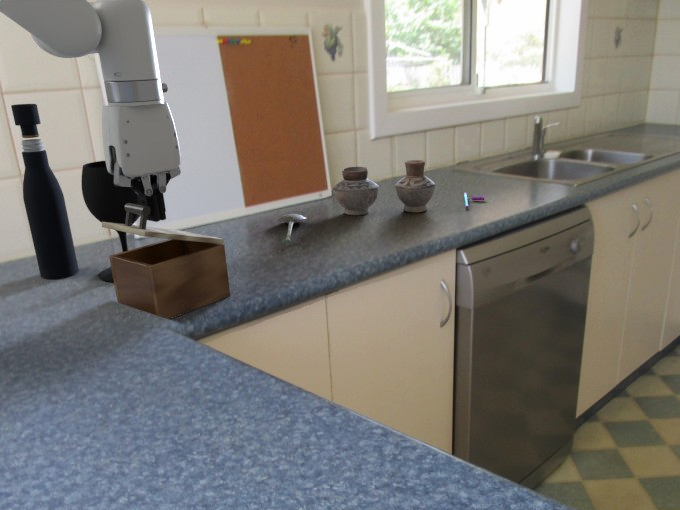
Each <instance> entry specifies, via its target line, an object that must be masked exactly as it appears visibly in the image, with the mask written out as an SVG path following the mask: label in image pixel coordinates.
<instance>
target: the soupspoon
mask: <svg viewBox="0 0 680 510" xmlns="http://www.w3.org/2000/svg"><path fill="white" fill-rule="evenodd" d="M304 220H307V217H305V216H304V215H302V214H299V213H287V214H283V215H282V216H280V217H279V218H278V219H277V221H279V222H284V223H286V224H288V226H287V234H286V236H285V239H283V240H282V245H283V246H284V247H291V245H292V240H291V239H292V238H291V234H292V230H293V225H294V224H297V223H299V222H302V221H304Z"/></svg>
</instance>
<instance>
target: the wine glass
mask: <svg viewBox="0 0 680 510" xmlns="http://www.w3.org/2000/svg"><path fill="white" fill-rule="evenodd" d="M127 178H130V177H127ZM81 193H82V198H83V201H84V203H85V206H86V208H87V209H88V211H89V212H90V214H91V215H92V216H93V217H94V218H95V219H96V220H98V221H99V222H100V223H102V222H109V223H118V224H125V220H126V211H125V209H124V207H125V205H126V204H127V203H132V204H137V205H141V201H140V195H139V194H136V193H135V191H134V190H133V189H131V188H130V187H122V186H116V185H115V184H114V175H112V174H110V173H109V172H108V170H107V167H106V161H105V160H99V161H92V162H88V163H84V164H83V165H82V170H81ZM140 216H141V215H139V214H134V213H133V218H132V225H135V223H136V222H137V221H138V220H139V219H140ZM114 231H115V232H116V233H117V235H118V237H119V241H120V245H121V252H125V251H128V250H129V247H128V240H127V238H128V236H127V234H128V233H127V232H122V231H118V230H114ZM98 278H99V280H101V281H103V282H106V283H114V280H113V275H112V269H111V266H110V267H107V268H105V269H103V270H102V271H100V272H99V274H98Z"/></svg>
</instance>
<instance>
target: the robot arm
mask: <svg viewBox="0 0 680 510" xmlns="http://www.w3.org/2000/svg"><path fill="white" fill-rule="evenodd" d="M0 13H1V14H3V15H4V16H6V17H7V18H9V19H10V20H11V21H13V22H14V23H15V24H17V25H18V26H20V27H21V28H23V29H24V30H25V31H27V32H28V33H30V35H31V38H32V39H33V41H34V42H35V44H36V45H37V47H39V48H40V49H41V50H42V51H44V52H46V53H47V54H49V55H51V56H54V57H56V58H62V59H72V58H81V57H82V58H83V57H85V56H88V55H94V54H98V56H99V61H100V66H101V73H102V79H103V83H104V89H105V95H106V100H107V105H102V109H101V110H102V111H101V134H102V145H103V155H104V161H106V167H107V170H108V172H109V173H110V174H112V175H114V184H115V185H116V186H122V187H130V188H131V189H133V190H134V191H135V193H136V194H139V195H140V201H141V205H143V206H148V207H149V208H150V210H151V212H150V214H149V215H148V216H147V221H149V222H154V223H158V222H160V221H165V220H167V215H166V213H167V212H166V202H165V196H164V193H165V194H166V192H167V186H168V184H169V182H170V181H171V180H172V179H174V178H176V177H178V176H180V175H181V173H182V171H181V168H180V166H181V161H182V156H181V149H180V142H179V137H178V133H177V129H176V125H175V121H174V117H173V115H172V114H173V113H172V111H171V109H170V106H169V104H168V101H165V99H164V93H167V92H168V91H169V88H168V85H167V84H166V83H165V82H163V83H162V79H161V72H160V67H159V60H158V59H159V58H158V54H157V47H156V40H155V32H154V27H153V26H154V25H153V19H152V13H151V9H150V7H149V5H148V4H147V2H146V1H144V0H95V1H88V0H0ZM127 177H130V178H127Z"/></svg>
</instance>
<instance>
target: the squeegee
mask: <svg viewBox="0 0 680 510" xmlns="http://www.w3.org/2000/svg"><path fill="white" fill-rule="evenodd" d="M463 197H464V205H465V209H469V202H468V201H469V200H471V201H485V196H472V197H471V198H470V197H469V196H468V197H467V192H463Z"/></svg>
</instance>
